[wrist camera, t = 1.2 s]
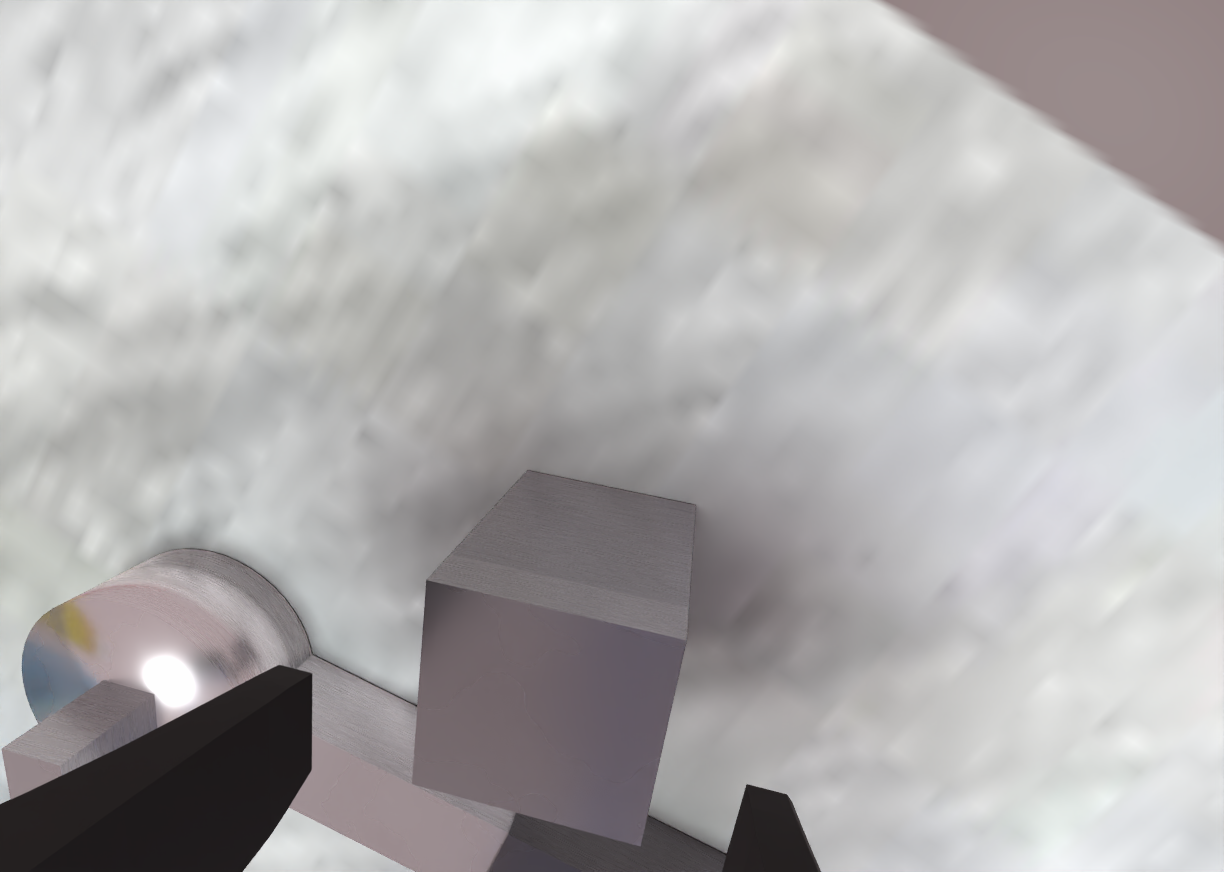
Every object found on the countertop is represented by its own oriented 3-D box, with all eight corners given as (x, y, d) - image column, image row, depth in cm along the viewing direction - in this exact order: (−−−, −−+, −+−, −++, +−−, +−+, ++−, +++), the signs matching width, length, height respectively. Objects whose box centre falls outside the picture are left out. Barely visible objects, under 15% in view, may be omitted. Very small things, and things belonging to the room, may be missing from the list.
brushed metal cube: (664, 652, 17) (640, 846, 11) (509, 615, 17) (411, 784, 12) (695, 505, 16) (686, 640, 10) (527, 470, 16) (426, 580, 10)
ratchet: (744, 949, 19) (756, 1199, 14) (136, 775, 22) (-45, 933, 17) (822, 696, 17) (874, 894, 11) (111, 528, 19) (-117, 626, 14)
